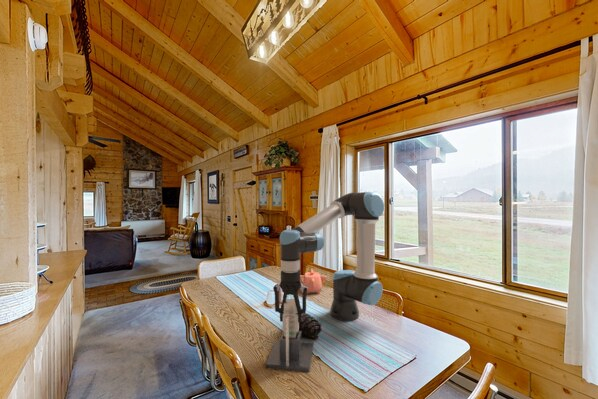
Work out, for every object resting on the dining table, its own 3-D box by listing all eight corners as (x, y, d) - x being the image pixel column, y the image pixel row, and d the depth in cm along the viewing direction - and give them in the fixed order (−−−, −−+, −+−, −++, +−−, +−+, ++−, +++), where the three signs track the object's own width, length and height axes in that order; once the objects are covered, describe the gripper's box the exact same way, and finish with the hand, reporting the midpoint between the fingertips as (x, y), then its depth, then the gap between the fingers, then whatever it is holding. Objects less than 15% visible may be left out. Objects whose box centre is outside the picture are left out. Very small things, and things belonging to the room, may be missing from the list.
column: (297, 349, 107) (297, 299, 107) (295, 357, 102) (295, 304, 101) (286, 348, 107) (286, 298, 107) (283, 356, 102) (283, 304, 102)
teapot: (313, 297, 167) (313, 276, 167) (295, 291, 178) (295, 271, 178) (329, 290, 179) (329, 271, 179) (311, 285, 190) (311, 267, 190)
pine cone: (318, 343, 114) (318, 320, 114) (282, 334, 123) (282, 312, 123) (327, 332, 123) (327, 311, 123) (293, 324, 132) (293, 304, 132)
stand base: (313, 347, 112) (312, 301, 112) (309, 371, 96) (309, 318, 96) (275, 344, 114) (275, 299, 114) (265, 368, 98) (265, 316, 98)
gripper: (313, 268, 107) (314, 326, 107) (270, 267, 109) (271, 324, 110) (312, 273, 100) (312, 336, 100) (265, 272, 102) (266, 333, 102)
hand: (290, 329), depth 105 cm, fingers closed on column, 4 cm apart
